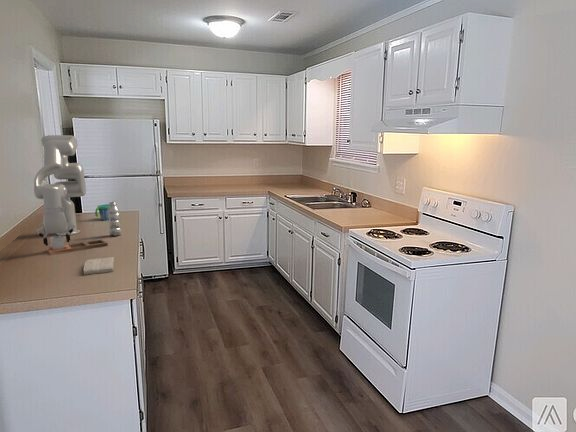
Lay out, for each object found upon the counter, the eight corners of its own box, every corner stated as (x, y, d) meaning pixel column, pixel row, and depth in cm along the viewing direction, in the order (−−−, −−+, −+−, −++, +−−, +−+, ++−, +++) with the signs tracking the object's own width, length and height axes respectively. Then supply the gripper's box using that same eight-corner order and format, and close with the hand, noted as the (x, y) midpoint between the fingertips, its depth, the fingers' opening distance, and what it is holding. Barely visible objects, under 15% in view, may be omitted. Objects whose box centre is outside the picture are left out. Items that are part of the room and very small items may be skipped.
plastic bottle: (117, 237, 235) (114, 203, 231) (107, 236, 236) (103, 202, 233) (124, 234, 241) (121, 201, 238) (113, 234, 243) (110, 201, 239)
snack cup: (99, 222, 279) (98, 207, 277) (92, 220, 285) (91, 206, 284) (121, 218, 291) (119, 204, 289) (113, 217, 297) (112, 203, 295)
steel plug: (51, 250, 206) (50, 236, 205) (62, 248, 210) (61, 235, 208) (53, 252, 203) (52, 238, 201) (64, 250, 206) (63, 237, 204)
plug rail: (46, 250, 207) (45, 247, 207) (101, 241, 224) (101, 239, 224) (50, 255, 199) (49, 252, 199) (107, 245, 216) (107, 243, 216)
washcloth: (114, 261, 189) (114, 255, 189) (114, 272, 173) (113, 265, 173) (86, 264, 185) (85, 258, 184) (83, 276, 169) (82, 269, 168)
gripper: (70, 207, 210) (74, 239, 214) (32, 211, 200) (36, 245, 203) (74, 209, 205) (77, 242, 208) (34, 213, 194) (39, 248, 197)
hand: (57, 243), depth 205 cm, fingers open, 9 cm apart
